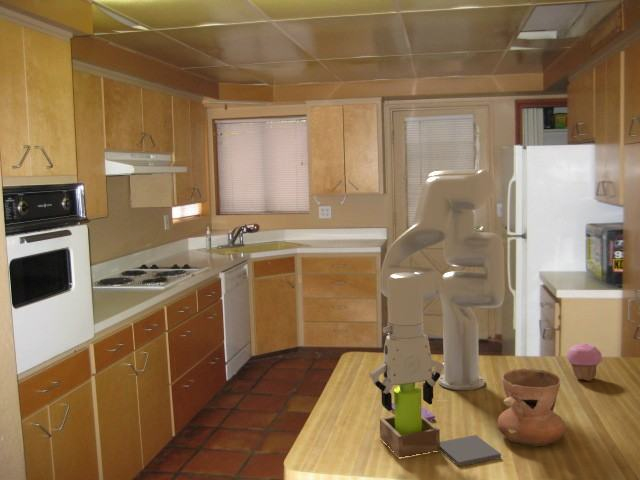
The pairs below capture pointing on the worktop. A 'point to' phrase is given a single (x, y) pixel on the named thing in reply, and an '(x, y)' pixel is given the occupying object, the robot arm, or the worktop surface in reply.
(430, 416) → the sponges
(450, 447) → the mat
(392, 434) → the holder
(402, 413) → the soap dispenser
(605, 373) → the worktop surface
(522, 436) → the ceramic jug
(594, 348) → the cupcake
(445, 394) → the worktop surface
